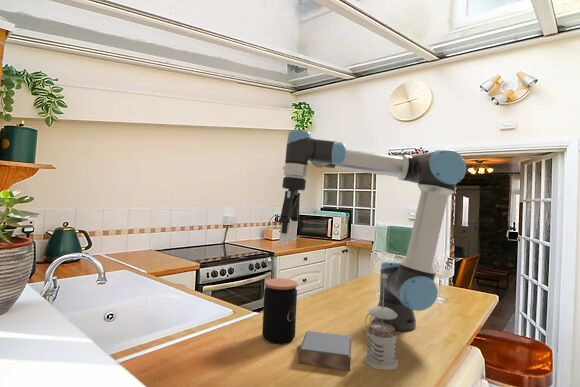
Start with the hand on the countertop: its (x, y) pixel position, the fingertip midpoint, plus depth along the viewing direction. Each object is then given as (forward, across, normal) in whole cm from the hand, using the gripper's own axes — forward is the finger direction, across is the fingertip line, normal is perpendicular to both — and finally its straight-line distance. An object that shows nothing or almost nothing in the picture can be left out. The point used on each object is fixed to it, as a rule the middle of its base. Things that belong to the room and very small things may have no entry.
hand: (287, 241), depth 111 cm
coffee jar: (+31, +1, +1) cm, 31 cm away
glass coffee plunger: (+29, +7, +32) cm, 44 cm away
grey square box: (+30, +9, +17) cm, 36 cm away
